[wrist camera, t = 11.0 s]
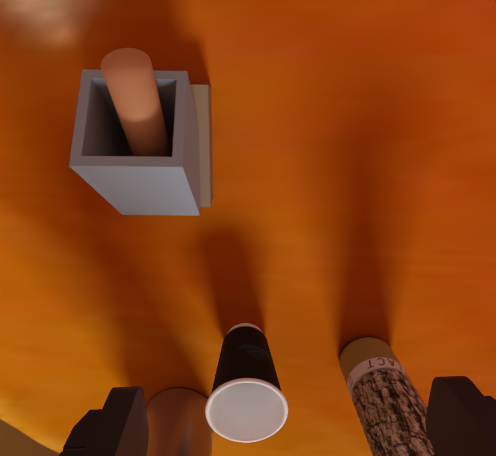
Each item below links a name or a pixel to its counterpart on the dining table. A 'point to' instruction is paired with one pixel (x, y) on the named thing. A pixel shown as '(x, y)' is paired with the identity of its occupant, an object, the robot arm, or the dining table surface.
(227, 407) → the dixie cup
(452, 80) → the dining table surface
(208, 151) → the socket
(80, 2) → the dining table surface
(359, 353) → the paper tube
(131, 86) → the dowel
